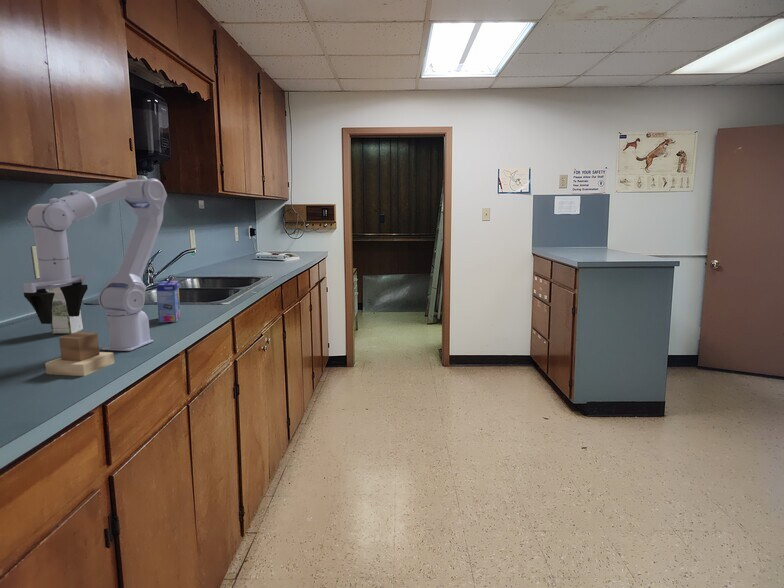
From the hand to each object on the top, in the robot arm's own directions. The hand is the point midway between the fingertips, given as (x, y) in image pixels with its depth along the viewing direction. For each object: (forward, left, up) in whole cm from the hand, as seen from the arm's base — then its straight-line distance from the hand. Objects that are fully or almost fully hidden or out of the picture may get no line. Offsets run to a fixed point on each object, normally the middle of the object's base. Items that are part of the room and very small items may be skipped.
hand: (60, 319), depth 107 cm
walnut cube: (+2, +6, -8) cm, 10 cm away
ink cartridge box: (-46, -4, -11) cm, 47 cm away
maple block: (+2, +6, -11) cm, 12 cm away
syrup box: (-27, -24, -11) cm, 38 cm away
